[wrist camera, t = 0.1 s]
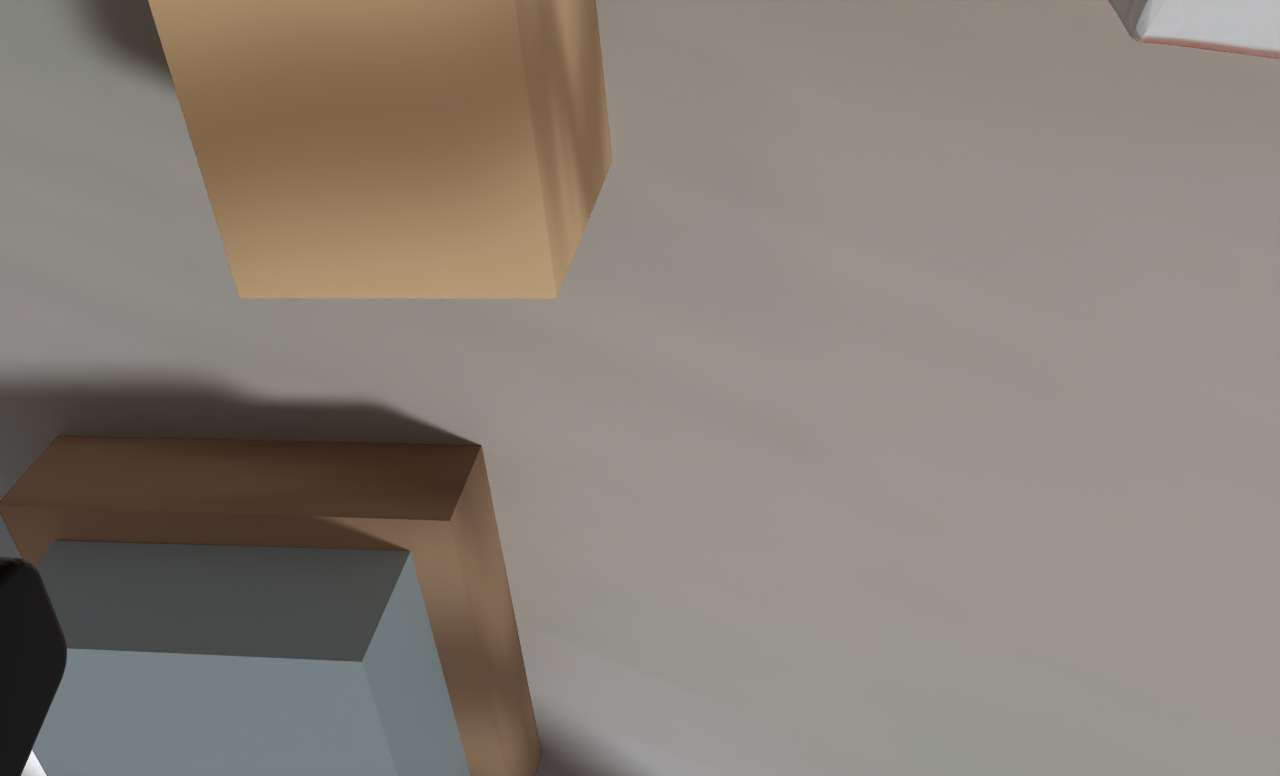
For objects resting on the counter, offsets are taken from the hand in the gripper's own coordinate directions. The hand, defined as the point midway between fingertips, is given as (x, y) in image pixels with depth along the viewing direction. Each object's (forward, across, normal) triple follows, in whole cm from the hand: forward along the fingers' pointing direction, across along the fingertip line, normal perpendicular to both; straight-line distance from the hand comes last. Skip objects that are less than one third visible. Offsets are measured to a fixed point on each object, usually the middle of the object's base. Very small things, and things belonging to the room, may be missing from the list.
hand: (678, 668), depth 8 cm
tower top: (+12, +11, +15) cm, 22 cm away
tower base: (+15, +11, +15) cm, 24 cm away
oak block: (+15, +6, +1) cm, 16 cm away
